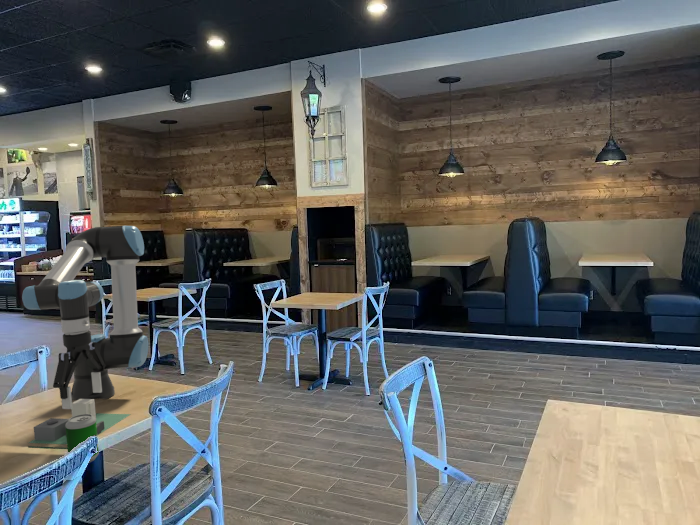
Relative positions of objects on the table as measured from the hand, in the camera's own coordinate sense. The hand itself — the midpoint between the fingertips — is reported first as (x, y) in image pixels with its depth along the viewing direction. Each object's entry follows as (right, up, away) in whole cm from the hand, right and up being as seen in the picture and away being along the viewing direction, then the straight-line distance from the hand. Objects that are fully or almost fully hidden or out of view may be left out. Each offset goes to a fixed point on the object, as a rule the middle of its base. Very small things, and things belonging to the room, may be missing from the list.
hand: (83, 400), depth 160 cm
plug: (0, -10, 0) cm, 10 cm away
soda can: (+8, -13, -15) cm, 21 cm away
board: (-3, -11, +5) cm, 13 cm away
